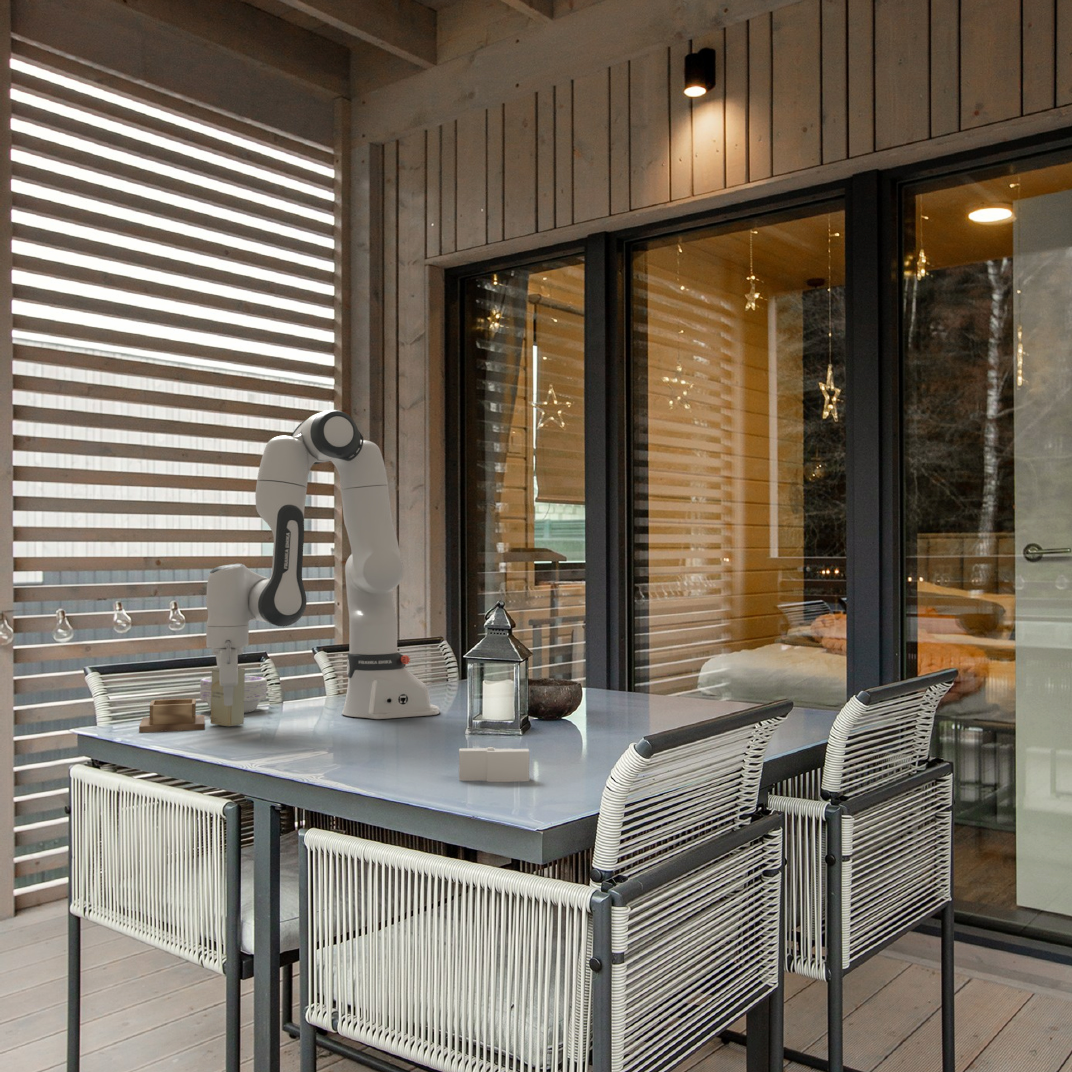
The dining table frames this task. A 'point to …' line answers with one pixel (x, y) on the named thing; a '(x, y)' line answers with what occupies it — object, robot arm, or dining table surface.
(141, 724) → the box
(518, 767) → the napkin holder
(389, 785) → the dining table surface
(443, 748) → the dining table surface
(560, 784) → the dining table surface
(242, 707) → the skincare box
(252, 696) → the paper bowls
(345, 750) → the dining table surface
